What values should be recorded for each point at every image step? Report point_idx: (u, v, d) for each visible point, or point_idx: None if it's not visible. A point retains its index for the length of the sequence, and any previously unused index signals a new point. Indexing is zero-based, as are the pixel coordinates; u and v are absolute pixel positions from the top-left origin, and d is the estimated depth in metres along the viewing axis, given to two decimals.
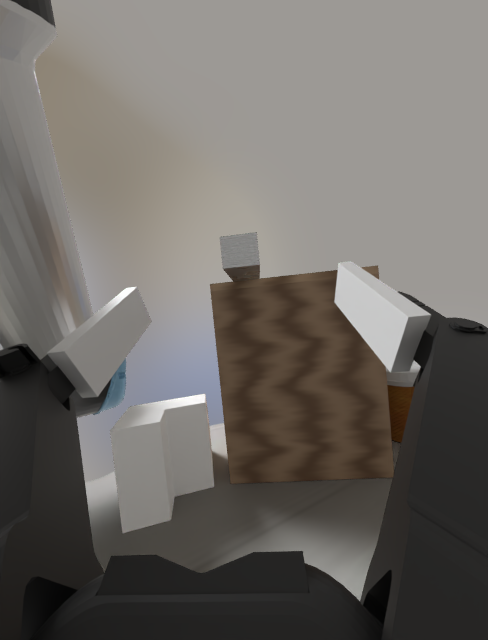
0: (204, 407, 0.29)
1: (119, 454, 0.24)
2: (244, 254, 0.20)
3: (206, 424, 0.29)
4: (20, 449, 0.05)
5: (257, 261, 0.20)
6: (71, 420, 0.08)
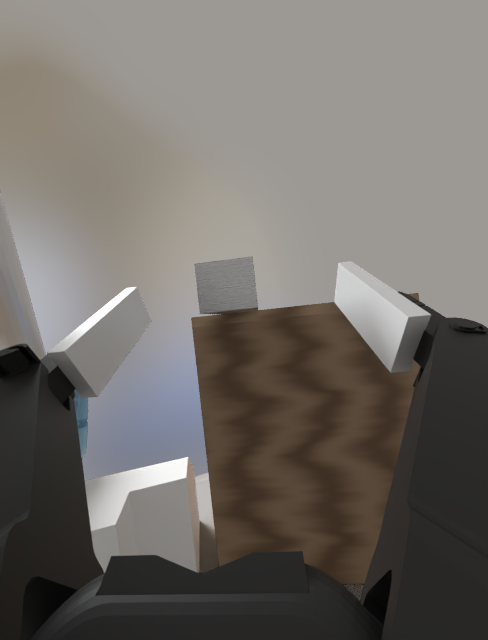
0: (184, 484, 0.21)
1: None
2: (233, 291, 0.13)
3: (187, 507, 0.21)
4: (20, 449, 0.05)
5: (254, 302, 0.13)
6: (71, 420, 0.08)
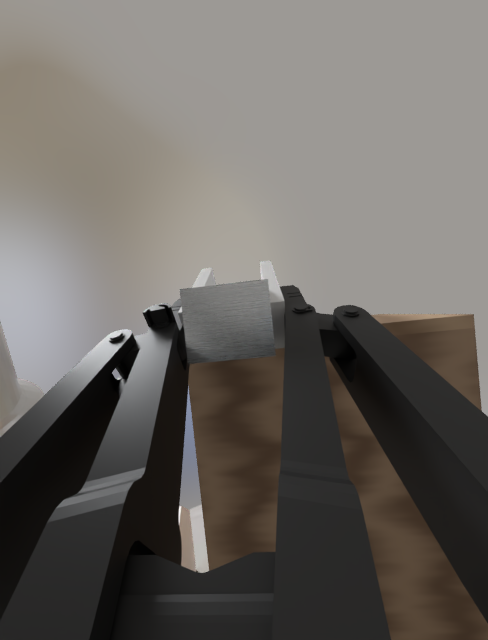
0: None
1: None
2: (238, 331, 0.08)
3: None
4: (149, 400, 0.06)
5: (270, 348, 0.08)
6: (185, 380, 0.09)
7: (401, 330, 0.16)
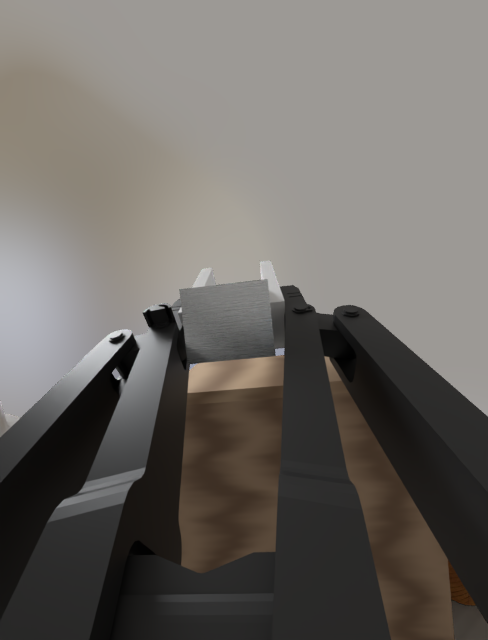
0: None
1: None
2: (238, 331, 0.08)
3: None
4: (149, 400, 0.06)
5: (270, 348, 0.08)
6: (185, 380, 0.09)
7: None
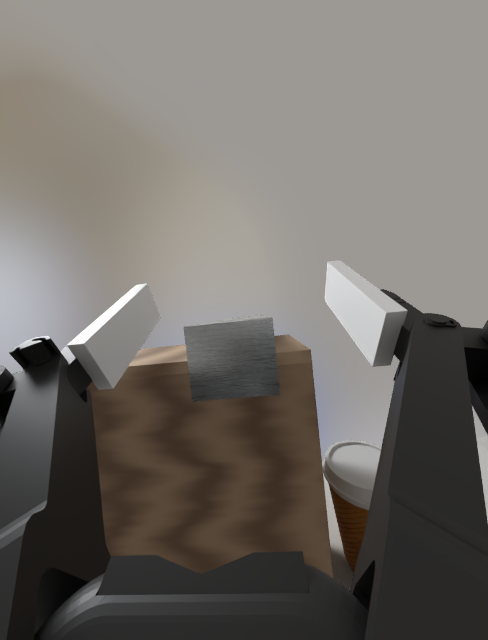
0: None
1: None
2: (243, 369, 0.08)
3: None
4: (40, 439, 0.05)
5: (274, 387, 0.08)
6: (88, 412, 0.08)
7: None
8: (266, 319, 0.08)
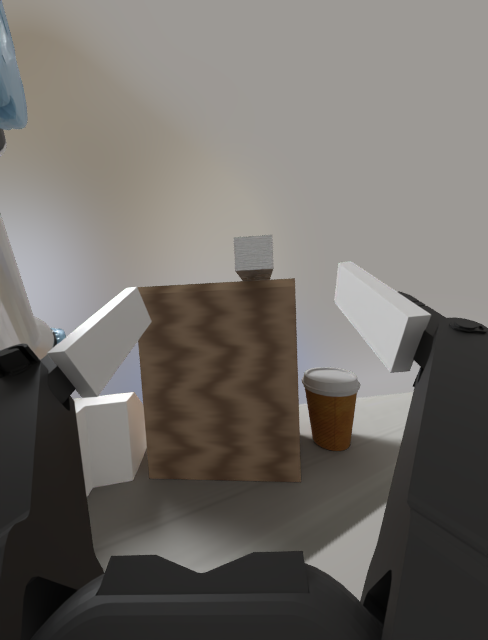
0: (125, 406, 0.30)
1: None
2: (258, 257, 0.19)
3: (126, 422, 0.30)
4: (20, 449, 0.05)
5: (271, 265, 0.19)
6: (71, 420, 0.08)
7: (255, 285, 0.28)
8: (269, 235, 0.19)
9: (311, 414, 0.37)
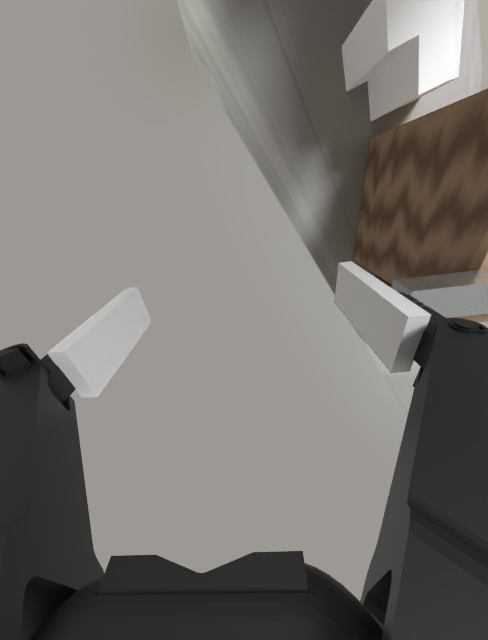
0: (414, 95, 0.27)
1: (372, 9, 0.25)
2: None
3: (402, 102, 0.29)
4: (20, 449, 0.05)
5: None
6: (71, 420, 0.08)
7: None
8: None
9: None
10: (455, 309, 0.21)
